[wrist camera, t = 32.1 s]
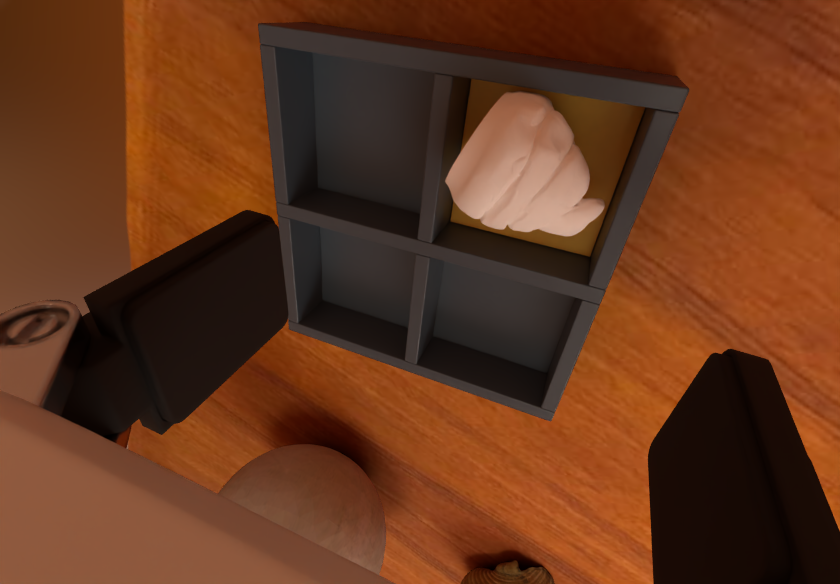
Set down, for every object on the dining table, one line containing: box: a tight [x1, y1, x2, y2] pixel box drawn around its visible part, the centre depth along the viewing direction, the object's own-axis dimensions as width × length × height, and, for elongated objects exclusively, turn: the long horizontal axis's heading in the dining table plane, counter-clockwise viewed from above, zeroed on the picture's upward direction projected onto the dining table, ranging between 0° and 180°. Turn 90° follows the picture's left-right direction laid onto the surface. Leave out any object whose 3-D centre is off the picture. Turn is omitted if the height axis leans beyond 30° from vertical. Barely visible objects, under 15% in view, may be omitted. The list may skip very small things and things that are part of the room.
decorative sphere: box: [218, 444, 386, 575], centre depth 36 cm, size 15×15×15 cm
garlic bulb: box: [445, 91, 605, 236], centre depth 18 cm, size 6×6×5 cm
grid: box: [258, 22, 689, 421], centre depth 23 cm, size 17×17×4 cm
